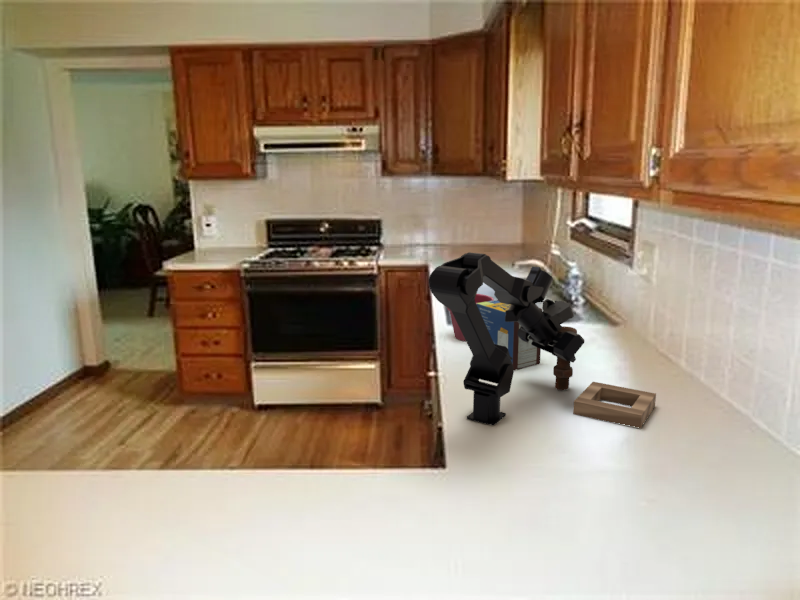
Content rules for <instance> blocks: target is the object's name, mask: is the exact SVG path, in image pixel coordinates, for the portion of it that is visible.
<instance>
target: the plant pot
mask: <svg viewBox="0 0 800 600" xmlns="http://www.w3.org/2000/svg"><path fill="white" fill-rule="evenodd" d="M493 300H495V298H493V297H492V296H489V295H487V294H483V293H477V294H476V297H475V302H476V304H477V303H481V302H487V301H493ZM446 309H447V311H448V312H449V314H450V318H451V324H452V329H453V335H454V338H455V339H456V340H458V341H462V342H466V340H465V338H464V336H463V334H462V332H461V330H460V328H459V326H458V324H457V321H456V319H455V317H454V315H453V313H452V311H451V310H450V309H449V308H447V307H446Z"/></svg>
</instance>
